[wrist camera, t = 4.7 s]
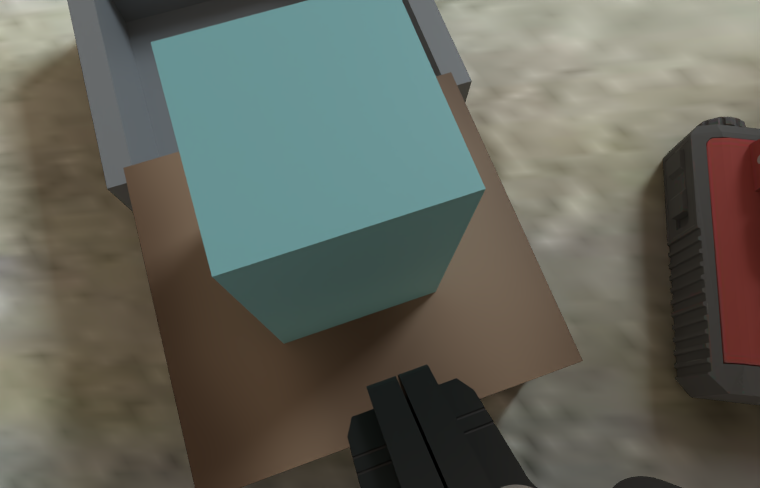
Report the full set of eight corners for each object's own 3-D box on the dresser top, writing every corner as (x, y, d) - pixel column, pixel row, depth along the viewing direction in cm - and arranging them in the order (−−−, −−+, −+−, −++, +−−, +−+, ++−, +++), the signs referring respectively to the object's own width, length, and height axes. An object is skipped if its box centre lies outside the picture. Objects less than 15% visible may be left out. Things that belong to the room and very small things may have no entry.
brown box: (433, 150, 26) (451, 72, 20) (529, 377, 22) (582, 360, 17) (181, 228, 24) (123, 167, 19) (245, 481, 21) (198, 503, 15)
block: (383, 158, 19) (392, -23, 11) (435, 292, 17) (485, 188, 10) (242, 201, 18) (150, 42, 11) (283, 343, 17) (211, 276, 9)
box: (370, -45, 29) (370, -136, 25) (453, 144, 26) (471, 81, 21) (108, 23, 28) (54, -60, 23) (159, 234, 24) (107, 188, 19)
